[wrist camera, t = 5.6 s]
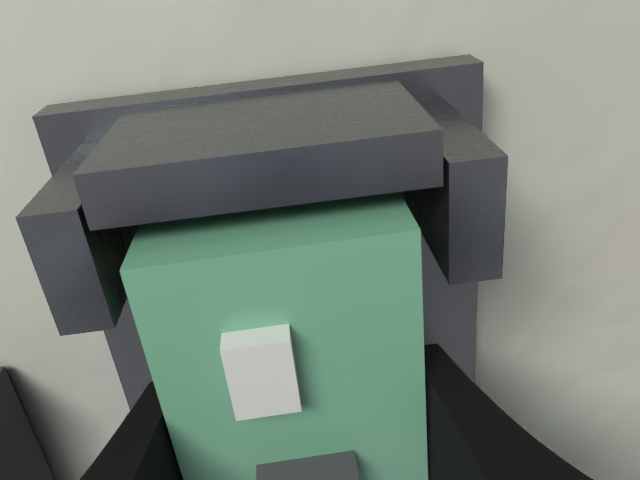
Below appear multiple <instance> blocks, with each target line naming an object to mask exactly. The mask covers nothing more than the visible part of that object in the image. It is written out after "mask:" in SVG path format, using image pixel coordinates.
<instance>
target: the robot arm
mask: <svg viewBox="0 0 640 480" xmlns="http://www.w3.org/2000/svg"><path fill="white" fill-rule="evenodd" d="M424 358H425V392H426V425H427V459H428V473H429V476H430V479H431V480H593V479H591V478H590V477H588V476H587V475H585V474H583V473H582V472H580V471H579V470H577V469H576V468H574V467H573V466H572V465H570V464H569V463H567V462H566V461H564V460H563V459H562V458H560V457H559V456H558V455H556V454H555V453H554V452H552V451H551V450H549V449H548V448H547V447H545V446H544V445H543V444H542V443H540V442H539V441H538V440H537V439H535V438H534V437H533V436H532V435H530V434H529V433H528V432H527V431H526V430H524V429H523V428H522V427H521V426H520V425H519V424H517V423H516V422H515V421H514V420H513V419H512V418H510V417H509V416H508V415H507V414H506V413H505V412H504V411H503V410H502V409H501V408H499V407H498V406H497V405H496V404H495V403H494V402H493V401H492V400H491V399H490V398H489V397H488V396H487V395H486V394H485V393H484V392H483V391H482V390H481V389H480V388H479V387H478V386H477V385H476V384H475V383H474V382H473V381H472V380H471V379H470V378H469V377H468V376H467V375H466V374H465V373H464V372H463V371H462V370H461V368H460V367H459V366H458V365H457V364H456V363H455V362H454V361H453V360H452V359H451V357H450V356H449V355H448V354H447V353H446V352H445V350H444V349H443V348H442V347H441V346H440V345H438V344H437V343H436V344H428V345H424ZM80 480H183V477H182V474H181V471H180V467H179V464H178V461H177V458H176V454H175V451H174V448H173V445H172V441H171V438H170V435H169V432H168V428H167V425H166V422H165V418H164V415H163V412H162V409H161V405H160V402H159V399H158V396H157V392H156V389H155V386H154V383H153V381H151V382H150V383H149V384H148V385H147V387H146V388H145V390H144V391H143V393H142V394H141V396H140V397H139V399H138V400H137V401H136V403H135V404H134V406H133V407H132V409H131V410H130V412H129V413H128V415H127V416H126V418H125V419H124V421H123V422H122V424H121V425H120V426H119V428H118V429H117V431H116V432H115V434H114V435H113V436H112V438H111V439H110V440H109V442H108V443H107V445H106V446H105V447H104V449H103V450H102V451H101V453H100V454H99V456H98V457H97V458H96V460H95V461H94V462H93V463H92V465H91V466H90V467H89V468H88V470H87V471H86V472H85V473H84V475H83V476H82V477H81V478H80Z"/></svg>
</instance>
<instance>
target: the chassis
mask: <svg viewBox="0 0 640 480" xmlns="http://www.w3.org/2000/svg"><path fill="white" fill-rule="evenodd" d="M482 97H483V62H482V61H480V60H478V59H477V58H475V57H473V56H471V55H461V56H453V57H445V58H436V59H428V60H420V61H411V62H403V63H395V64H386V65H378V66H370V67H361V68H353V69H345V70H336V71H328V72H320V73H311V74H303V75H295V76H286V77H278V78H270V79H261V80H253V81H245V82H236V83H228V84H220V85H211V86H203V87H195V88H186V89H178V90H170V91H161V92H153V93H145V94H136V95H128V96H120V97H111V98H103V99H95V100H86V101H78V102H70V103H61V104H53V105H47V106H46V107H44V108H43V109H42V110H40V111H39V112H38V113H37V114H35V115H34V116H33V120H34V123H35V126H36V129H37V132H38V135H39V138H40V141H41V144H42V147H43V150H44V153H45V156H46V159H47V162H48V165H49V168H50V171H51V174H52V178H51V179H50V180H49V181H48V182H47V183H46V184H45V185H44V186H43V188H42V189H41V190H40V191H39V192H38V193H37V194H36V195H35V197H34V198H33V199H32V200H31V201H30V202H29V203H28V204H27V205H26V207H25V208H24V209H23V210H22V211H21V212H20V213H19V214H18V216H17V217H16V220H17V223H18V225H19V228H20V231H21V233H22V236H23V238H24V241H25V244H26V246H27V249H28V252H29V254H30V257H31V260H32V262H33V265H34V268H35V270H36V273H37V276H38V278H39V281H40V284H41V286H42V289H43V291H44V294H45V297H46V299H47V302H48V305H49V307H50V310H51V313H52V315H53V318H54V321H55V323H56V326H57V329H58V331H59V334H60V336H63V335H70V334H78V333H86V332H93V331H101V330H104V333H105V336H106V339H107V342H108V345H109V348H110V351H111V354H112V357H113V360H114V363H115V366H116V369H117V372H118V375H119V378H120V381H121V384H122V387H123V390H124V393H125V396H126V399H127V402H128V405H129V408H130V410H131V409H132V407H133V406H134V404H135V403H136V401H137V400H138V399H139V397H140V396H141V394H142V393H143V391H144V390H145V388H146V387H147V385H148V384H149V383H150V382H151V381H153V379H152V376H151V373H150V369H149V366H148V363H147V360H146V356H145V353H144V350H143V347H142V343H141V340H140V337H139V334H138V330H137V327H136V324H135V320H134V317H133V314H132V311H131V307H130V304H129V301H128V298H127V294H126V291H125V288H124V285H123V281H122V278H121V275H120V268H121V266H122V264H123V261H124V259H125V256H126V254H127V252H128V249H129V247H130V245H131V242H132V240H133V238H134V235H135V233H136V231H137V228H138V226H139V225H140V224H148V223H156V222H164V221H172V220H180V219H188V218H196V217H204V216H212V215H220V214H228V213H235V212H243V211H251V210H259V209H267V208H275V207H283V206H291V205H299V204H307V203H315V202H323V201H331V200H339V199H347V198H354V197H362V196H370V195H378V194H386V193H394V192H400V193H401V195H402V197H403V199H404V201H405V202H406V204H407V206H408V208H409V210H410V211H411V213H412V215H413V217H414V219H415V220H416V222H417V224H418V226H419V228H420V229H421V256H422V290H423V324H424V345H428V344H436V343H437V344H438V345H440V346H441V347H442V348H443V349H444V350H445V352H446V353H447V354H448V355H449V356H450V357H451V359H452V360H453V361H454V362H455V363H456V364H457V365H458V366H459V367H460V368H461V370H462V371H463V372H464V373H465V374H466V375H467V376H468V377H469V378H470V379H471V380H472V381H473V382H475V347H476V311H477V281H483V280H491V279H499V278H502V266H503V246H504V227H505V207H506V187H507V167H508V156H507V155H506V154H505V153H504V152H503V151H502V150H501V149H500V148H499V147H497V146H496V145H495V144H494V143H493V142H492V141H491V140H490V139H488V138H487V137H486V136H485V135H484V134H483V133H482ZM428 480H431V479H430V476H429V473H428Z"/></svg>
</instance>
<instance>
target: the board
mask: <svg viewBox="0 0 640 480" xmlns="http://www.w3.org/2000/svg"><path fill="white" fill-rule="evenodd" d="M120 275H121V278H122V281H123V285H124V288H125V291H126V294H127V298H128V301H129V304H130V307H131V311H132V314H133V317H134V320H135V324H136V327H137V330H138V334H139V337H140V340H141V343H142V347H143V350H144V353H145V356H146V360H147V363H148V366H149V369H150V373H151V376H152V379H153V383H154V386H155V389H156V392H157V396H158V399H159V402H160V405H161V409H162V412H163V415H164V418H165V422H166V425H167V428H168V432H169V435H170V438H171V441H172V445H173V448H174V451H175V454H176V458H177V461H178V464H179V467H180V471H181V474H182V477H183V480H428V459H427V425H426V392H425V358H424V324H423V290H422V256H421V229H420V228H419V226H418V224H417V222H416V220H415V219H414V217H413V215H412V213H411V211H410V210H409V208H408V206H407V204H406V202H405V201H404V199H403V197H402V195H401V193H400V192H394V193H386V194H378V195H370V196H362V197H354V198H347V199H339V200H331V201H323V202H315V203H307V204H299V205H291V206H283V207H275V208H267V209H259V210H251V211H243V212H235V213H228V214H220V215H212V216H204V217H196V218H188V219H180V220H172V221H164V222H156V223H148V224H140V225H139V226H138V228H137V231H136V233H135V235H134V238H133V240H132V242H131V245H130V247H129V249H128V252H127V254H126V256H125V259H124V261H123V264H122V266H121V268H120Z"/></svg>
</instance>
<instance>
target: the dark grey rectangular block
mask: <svg viewBox="0 0 640 480" xmlns="http://www.w3.org/2000/svg"><path fill="white" fill-rule="evenodd" d="M0 480H54V478H53V475H52V473H51V471H50V469H49V466H48V464H47V462H46V460H45V457H44V455H43V453H42V451H41V448H40V446H39V444H38V442H37V439H36V437H35V435H34V433H33V430H32V428H31V426H30V424H29V421H28V419H27V417H26V415H25V413H24V410H23V408H22V406H21V404H20V401H19V399H18V397H17V395H16V392H15V390H14V388H13V386H12V383H11V381H10V379H9V377H8V374H7V372H6V370H5V368H4V367H0Z"/></svg>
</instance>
